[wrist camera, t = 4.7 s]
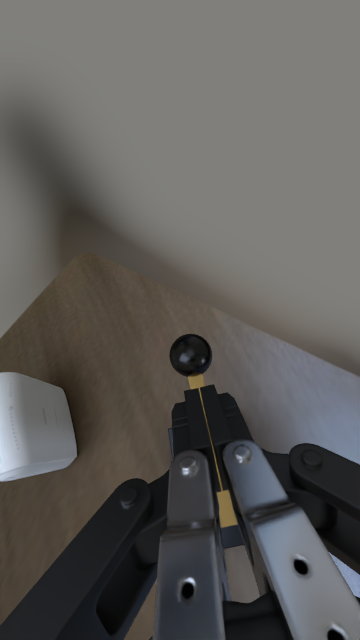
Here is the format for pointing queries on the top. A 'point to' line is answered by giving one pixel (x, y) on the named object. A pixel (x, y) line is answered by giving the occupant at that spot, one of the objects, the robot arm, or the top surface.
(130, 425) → the top surface
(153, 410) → the top surface
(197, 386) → the lever
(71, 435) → the photo printer
